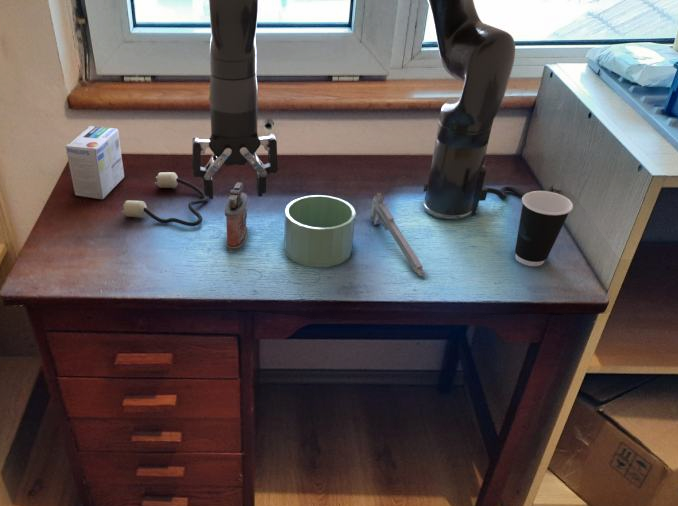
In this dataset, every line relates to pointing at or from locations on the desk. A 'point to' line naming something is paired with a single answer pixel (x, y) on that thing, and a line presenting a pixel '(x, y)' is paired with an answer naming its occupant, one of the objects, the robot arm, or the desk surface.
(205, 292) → the desk surface
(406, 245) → the caliper
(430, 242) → the desk surface
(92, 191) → the light bulb box
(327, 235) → the pencil cup
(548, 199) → the dixie cup
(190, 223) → the cable
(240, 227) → the lighter
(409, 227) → the desk surface
